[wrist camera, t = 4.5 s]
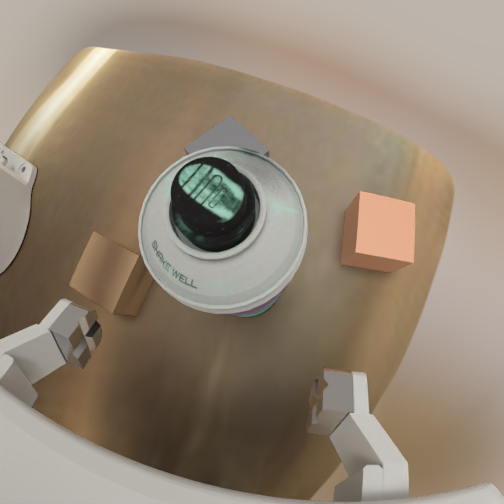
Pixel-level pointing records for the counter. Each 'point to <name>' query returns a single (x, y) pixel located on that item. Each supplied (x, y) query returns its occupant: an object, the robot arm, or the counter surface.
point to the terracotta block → (378, 233)
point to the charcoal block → (227, 138)
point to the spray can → (224, 231)
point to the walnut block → (112, 276)
